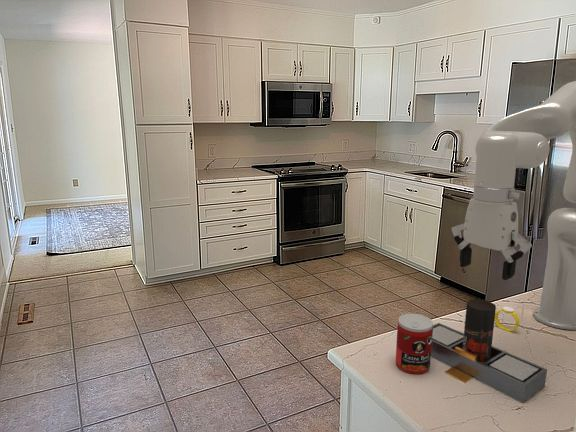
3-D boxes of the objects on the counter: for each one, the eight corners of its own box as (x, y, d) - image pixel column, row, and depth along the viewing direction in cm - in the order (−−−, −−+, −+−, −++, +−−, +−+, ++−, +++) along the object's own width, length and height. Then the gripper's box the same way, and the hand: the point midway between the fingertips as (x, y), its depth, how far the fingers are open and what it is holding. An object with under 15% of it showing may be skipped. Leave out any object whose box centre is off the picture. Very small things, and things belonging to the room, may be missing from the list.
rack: (437, 336, 114) (438, 319, 113) (544, 386, 93) (547, 365, 92) (406, 351, 107) (407, 333, 106) (514, 409, 86) (517, 386, 85)
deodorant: (455, 361, 103) (461, 301, 99) (476, 356, 105) (482, 297, 101) (473, 374, 97) (479, 312, 94) (495, 370, 99) (502, 308, 96)
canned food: (399, 375, 97) (402, 329, 95) (391, 355, 105) (394, 313, 103) (434, 375, 97) (438, 329, 95) (424, 355, 105) (427, 313, 103)
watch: (518, 332, 117) (523, 312, 115) (513, 335, 115) (518, 315, 113) (496, 322, 121) (500, 303, 120) (491, 325, 120) (495, 306, 118)
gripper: (544, 198, 87) (534, 279, 91) (465, 187, 101) (459, 258, 105) (526, 203, 83) (516, 288, 87) (445, 191, 96) (440, 265, 101)
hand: (485, 271), depth 96 cm, fingers open, 9 cm apart
